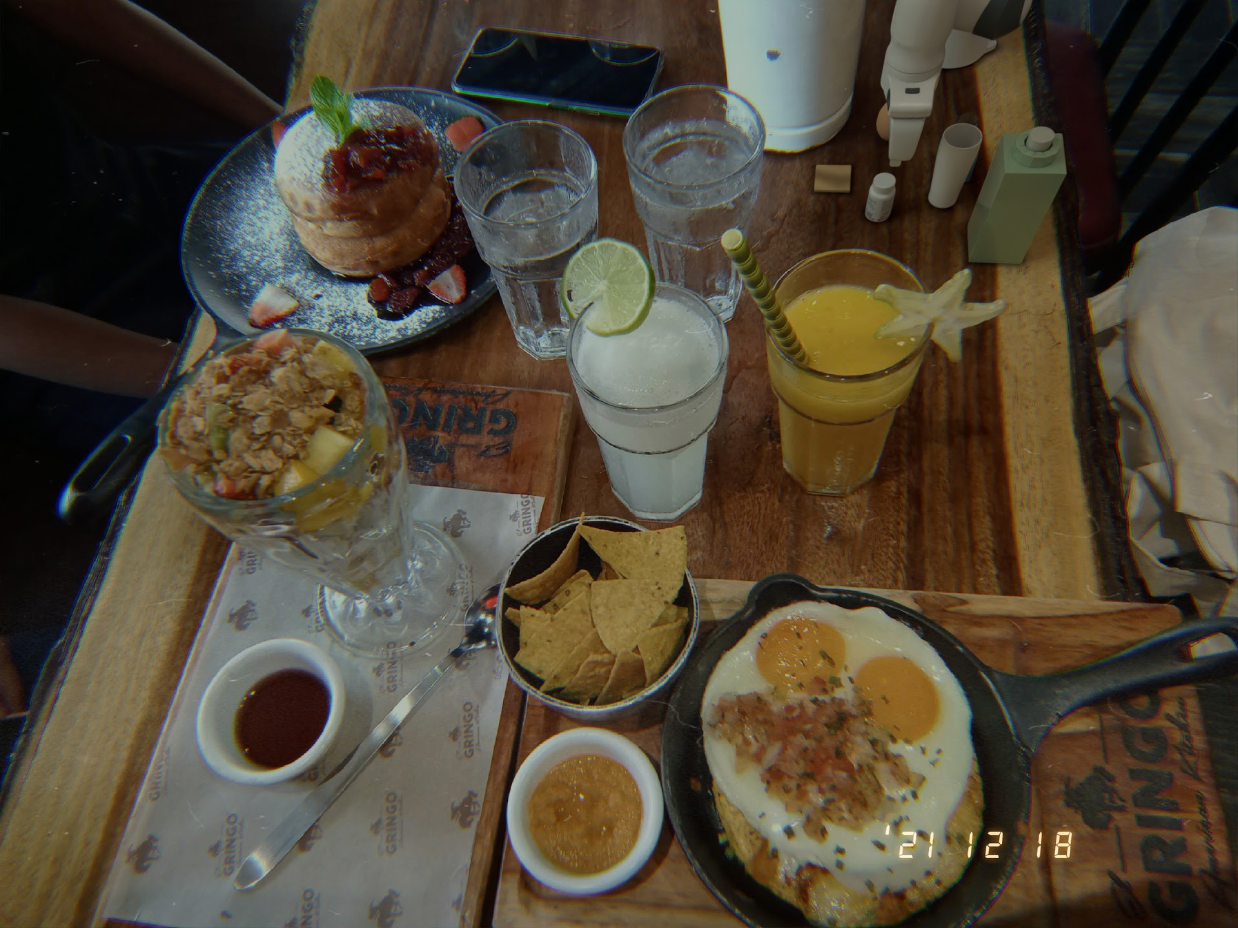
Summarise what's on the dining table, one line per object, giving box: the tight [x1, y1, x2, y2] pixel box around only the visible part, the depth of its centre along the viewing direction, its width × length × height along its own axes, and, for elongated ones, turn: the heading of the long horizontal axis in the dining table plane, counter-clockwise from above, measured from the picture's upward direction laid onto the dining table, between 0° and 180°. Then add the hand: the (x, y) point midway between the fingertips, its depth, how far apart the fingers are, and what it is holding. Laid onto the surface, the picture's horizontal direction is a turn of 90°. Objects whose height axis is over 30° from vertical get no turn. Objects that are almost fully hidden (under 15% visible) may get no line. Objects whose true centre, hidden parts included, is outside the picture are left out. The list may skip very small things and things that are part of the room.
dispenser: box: [966, 128, 1068, 265], centre depth 126 cm, size 9×9×23 cm
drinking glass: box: [927, 122, 983, 209], centre depth 136 cm, size 7×7×15 cm
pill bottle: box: [864, 172, 897, 223], centre depth 140 cm, size 5×5×8 cm
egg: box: [875, 101, 890, 142], centre depth 148 cm, size 7×7×9 cm
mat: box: [813, 164, 852, 193], centre depth 149 cm, size 7×7×1 cm
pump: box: [1025, 125, 1055, 152], centre depth 116 cm, size 4×4×2 cm
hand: (894, 144), depth 129 cm, fingers open, 8 cm apart
